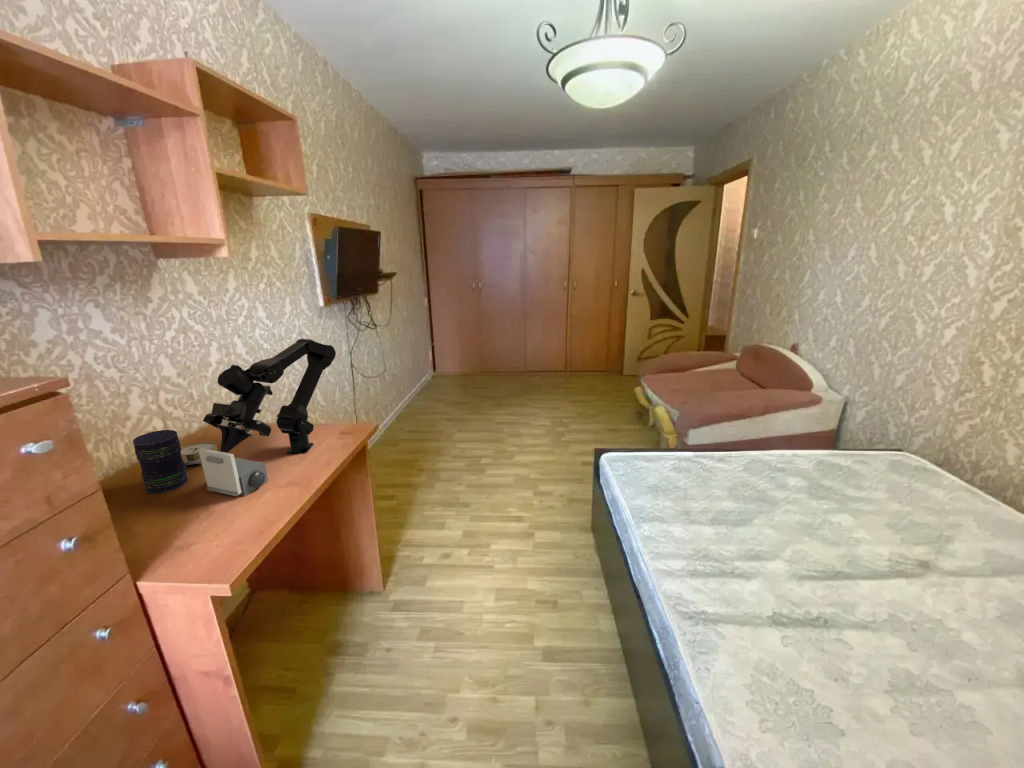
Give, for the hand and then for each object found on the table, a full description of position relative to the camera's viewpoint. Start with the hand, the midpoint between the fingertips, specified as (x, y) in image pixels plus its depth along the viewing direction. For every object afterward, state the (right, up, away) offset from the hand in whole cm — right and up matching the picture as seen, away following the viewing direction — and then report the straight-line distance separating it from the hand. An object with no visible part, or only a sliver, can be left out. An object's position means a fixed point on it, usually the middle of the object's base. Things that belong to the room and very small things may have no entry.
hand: (222, 453), depth 118 cm
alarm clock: (-22, -6, +21) cm, 31 cm away
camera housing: (+1, -10, +6) cm, 12 cm away
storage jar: (-20, -10, +6) cm, 23 cm away
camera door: (-1, -11, +1) cm, 11 cm away
